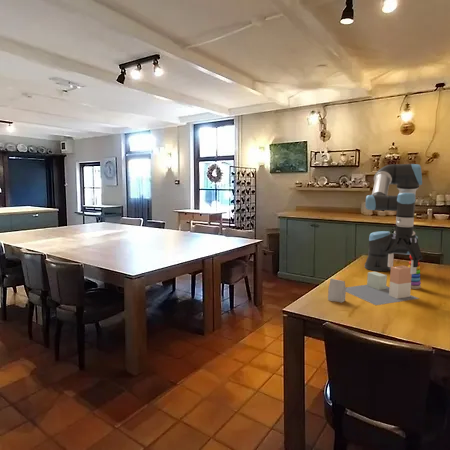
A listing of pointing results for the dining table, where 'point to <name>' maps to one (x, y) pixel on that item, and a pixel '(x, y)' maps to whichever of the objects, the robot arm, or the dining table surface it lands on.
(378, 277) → the sage brick
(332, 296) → the ivan-chai tea box
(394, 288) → the cream brick
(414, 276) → the stacking toy
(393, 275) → the terracotta brick
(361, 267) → the dining table surface
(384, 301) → the charcoal mat
